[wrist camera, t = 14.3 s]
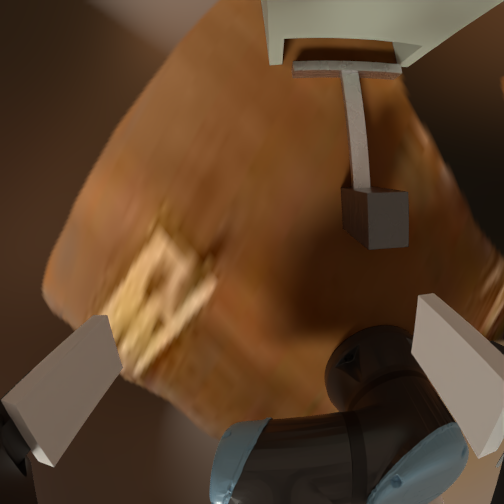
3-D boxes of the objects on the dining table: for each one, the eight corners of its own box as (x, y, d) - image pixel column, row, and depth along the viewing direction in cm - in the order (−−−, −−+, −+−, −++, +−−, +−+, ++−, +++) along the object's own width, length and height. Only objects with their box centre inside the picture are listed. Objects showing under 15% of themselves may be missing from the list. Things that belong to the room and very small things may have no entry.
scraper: (405, 224, 37) (447, 243, 26) (306, 231, 38) (319, 253, 27) (392, 71, 32) (428, 42, 22) (291, 69, 33) (298, 32, 23)
